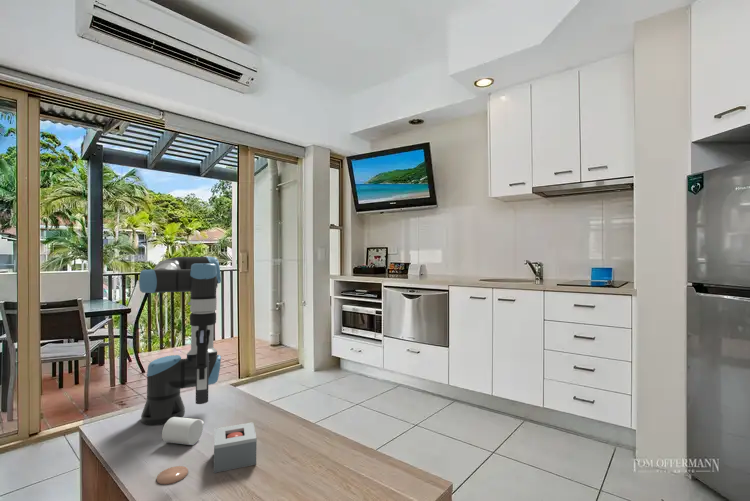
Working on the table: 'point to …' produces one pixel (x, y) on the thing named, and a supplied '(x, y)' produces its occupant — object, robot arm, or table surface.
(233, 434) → the button
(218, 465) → the square hole box
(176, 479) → the coaster
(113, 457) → the table surface
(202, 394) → the rod
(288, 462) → the table surface
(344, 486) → the table surface
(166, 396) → the robot arm
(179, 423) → the mug
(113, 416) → the table surface
